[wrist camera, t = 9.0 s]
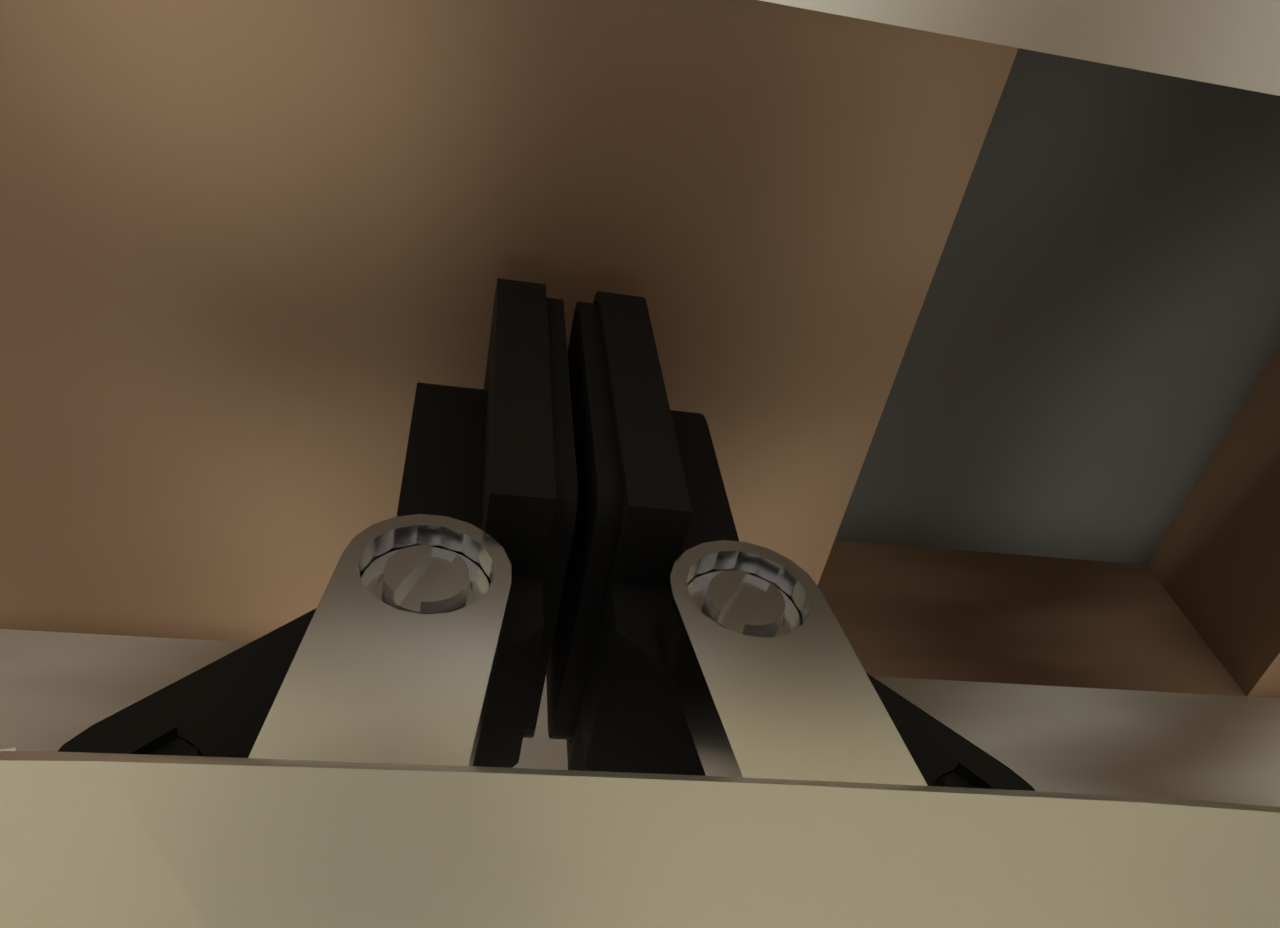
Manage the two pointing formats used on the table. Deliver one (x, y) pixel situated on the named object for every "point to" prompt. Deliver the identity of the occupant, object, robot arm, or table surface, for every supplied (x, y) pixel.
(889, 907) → the robot arm
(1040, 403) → the trap deck
